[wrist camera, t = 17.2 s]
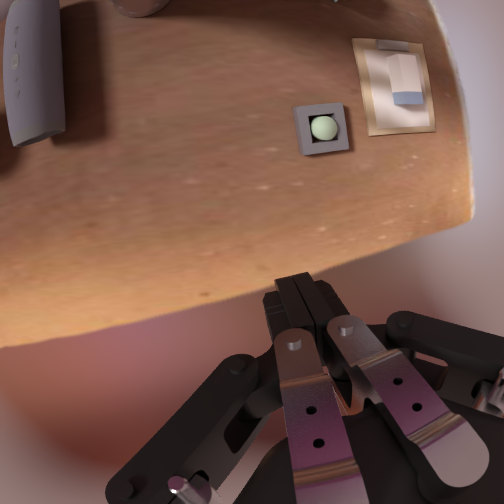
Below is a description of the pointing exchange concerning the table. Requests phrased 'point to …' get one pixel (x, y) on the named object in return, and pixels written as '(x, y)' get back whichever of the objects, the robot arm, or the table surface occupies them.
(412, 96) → the white carton blue base
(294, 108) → the button housing
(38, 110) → the bluetooth speaker
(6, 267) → the table surface
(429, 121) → the clipboard
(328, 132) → the button
